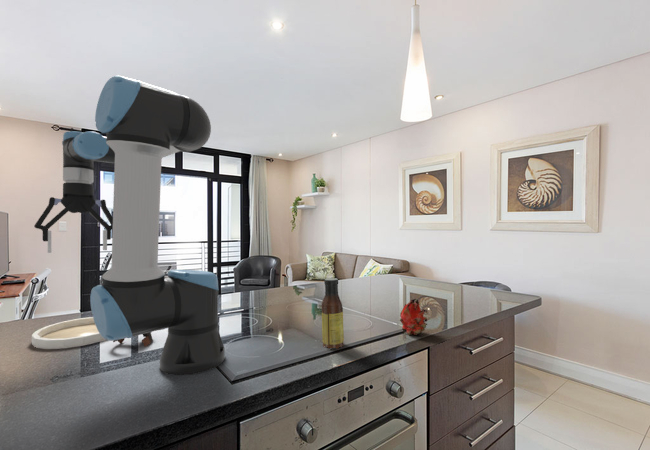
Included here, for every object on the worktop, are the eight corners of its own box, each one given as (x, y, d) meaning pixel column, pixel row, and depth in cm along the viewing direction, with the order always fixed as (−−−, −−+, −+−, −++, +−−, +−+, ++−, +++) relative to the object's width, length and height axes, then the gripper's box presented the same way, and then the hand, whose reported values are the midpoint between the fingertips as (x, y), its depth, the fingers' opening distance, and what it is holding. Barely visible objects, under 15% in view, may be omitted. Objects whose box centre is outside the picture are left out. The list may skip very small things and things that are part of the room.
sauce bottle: (346, 345, 93) (347, 278, 93) (338, 353, 87) (339, 281, 87) (326, 341, 95) (327, 276, 95) (317, 348, 90) (318, 279, 90)
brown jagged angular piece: (141, 352, 87) (124, 327, 85) (116, 364, 89) (100, 340, 88) (168, 328, 98) (153, 307, 97) (146, 339, 100) (132, 318, 99)
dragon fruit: (408, 342, 95) (409, 302, 95) (394, 333, 103) (394, 296, 103) (432, 339, 98) (432, 300, 98) (416, 330, 106) (416, 295, 106)
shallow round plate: (134, 333, 101) (134, 325, 101) (43, 356, 84) (43, 346, 84) (108, 319, 115) (108, 312, 115) (25, 337, 97) (25, 328, 97)
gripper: (123, 187, 109) (123, 248, 109) (23, 180, 92) (23, 252, 92) (127, 185, 103) (127, 249, 103) (22, 177, 87) (22, 254, 86)
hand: (78, 251), depth 98 cm, fingers open, 13 cm apart
